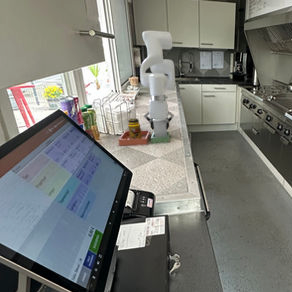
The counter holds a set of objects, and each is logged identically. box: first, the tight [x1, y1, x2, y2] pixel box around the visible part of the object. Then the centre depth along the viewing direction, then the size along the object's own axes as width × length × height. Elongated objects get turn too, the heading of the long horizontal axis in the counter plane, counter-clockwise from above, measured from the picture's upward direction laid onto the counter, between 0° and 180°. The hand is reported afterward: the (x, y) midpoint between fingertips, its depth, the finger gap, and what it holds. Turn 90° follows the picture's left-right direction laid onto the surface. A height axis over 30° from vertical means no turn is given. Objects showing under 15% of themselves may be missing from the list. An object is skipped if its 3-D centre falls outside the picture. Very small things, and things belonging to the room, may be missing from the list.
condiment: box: [127, 118, 144, 139], centre depth 135 cm, size 7×8×12 cm
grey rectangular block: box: [153, 120, 168, 137], centre depth 136 cm, size 4×7×10 cm, turn 113°
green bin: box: [150, 131, 171, 144], centre depth 138 cm, size 11×9×4 cm
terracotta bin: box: [118, 129, 152, 146], centre depth 136 cm, size 16×14×4 cm
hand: (160, 128), depth 136 cm, fingers closed on grey rectangular block, 7 cm apart
